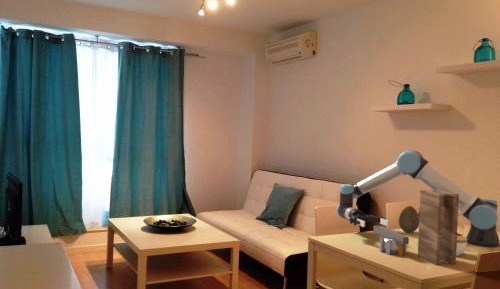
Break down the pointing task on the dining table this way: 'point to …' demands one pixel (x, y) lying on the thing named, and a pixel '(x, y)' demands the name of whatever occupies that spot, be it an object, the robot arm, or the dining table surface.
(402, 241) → the steel bar
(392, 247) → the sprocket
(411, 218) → the decorative egg
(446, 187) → the robot arm
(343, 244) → the dining table surface
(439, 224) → the tall wooden pillar
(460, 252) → the lidded jar
